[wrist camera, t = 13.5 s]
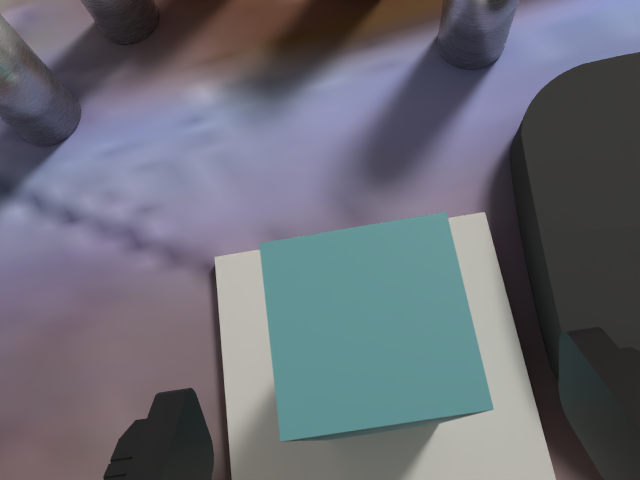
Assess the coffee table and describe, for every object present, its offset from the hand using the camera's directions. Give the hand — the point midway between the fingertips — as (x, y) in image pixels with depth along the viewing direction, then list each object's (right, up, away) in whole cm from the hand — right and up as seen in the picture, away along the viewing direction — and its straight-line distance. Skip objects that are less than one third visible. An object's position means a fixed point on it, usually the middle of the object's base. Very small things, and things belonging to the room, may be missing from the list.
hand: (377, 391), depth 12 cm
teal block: (+1, -2, +8) cm, 8 cm away
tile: (+1, -2, +9) cm, 9 cm away
